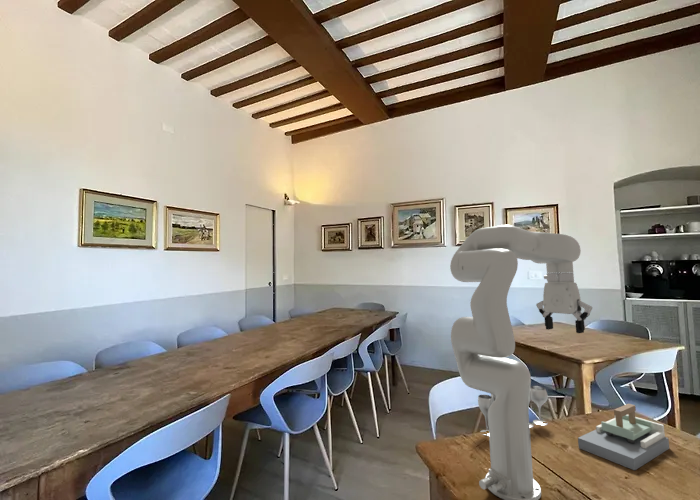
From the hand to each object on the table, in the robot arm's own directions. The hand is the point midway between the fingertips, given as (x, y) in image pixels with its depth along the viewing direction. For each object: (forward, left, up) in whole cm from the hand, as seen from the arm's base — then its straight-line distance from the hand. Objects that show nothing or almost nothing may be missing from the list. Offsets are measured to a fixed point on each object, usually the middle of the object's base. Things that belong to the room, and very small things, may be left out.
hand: (564, 330), depth 110 cm
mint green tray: (+10, -11, -31) cm, 34 cm away
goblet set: (-7, +15, -35) cm, 38 cm away
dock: (+7, -11, -34) cm, 36 cm away
